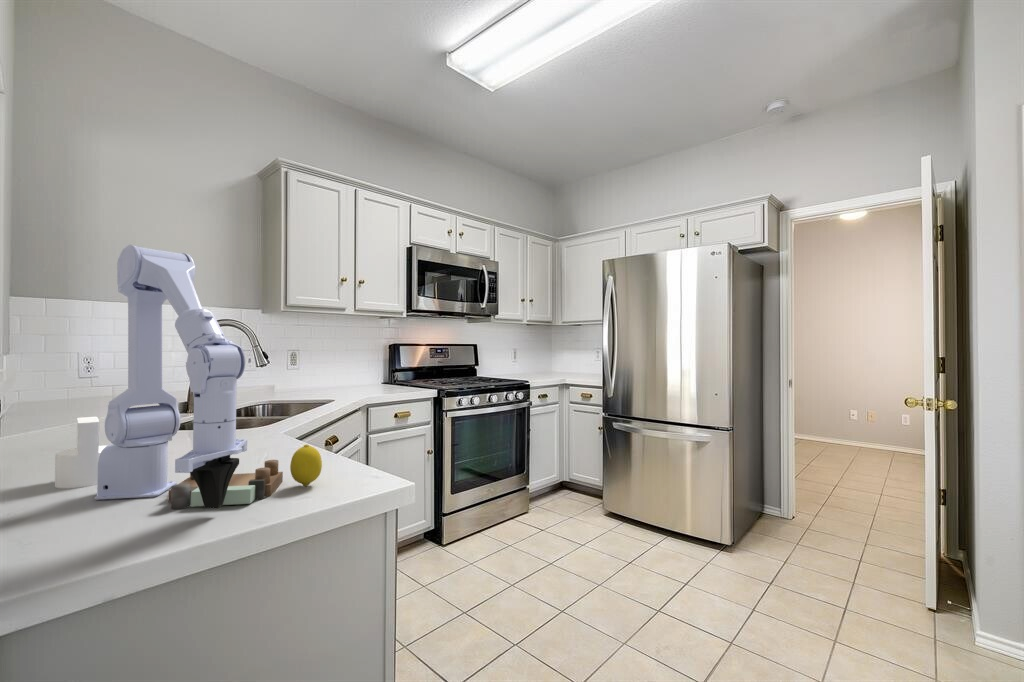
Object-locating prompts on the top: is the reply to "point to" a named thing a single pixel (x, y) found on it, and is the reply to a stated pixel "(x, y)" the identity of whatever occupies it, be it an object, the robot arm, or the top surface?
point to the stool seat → (232, 484)
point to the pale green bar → (228, 495)
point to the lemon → (306, 465)
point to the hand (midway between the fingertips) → (213, 507)
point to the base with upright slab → (80, 457)
